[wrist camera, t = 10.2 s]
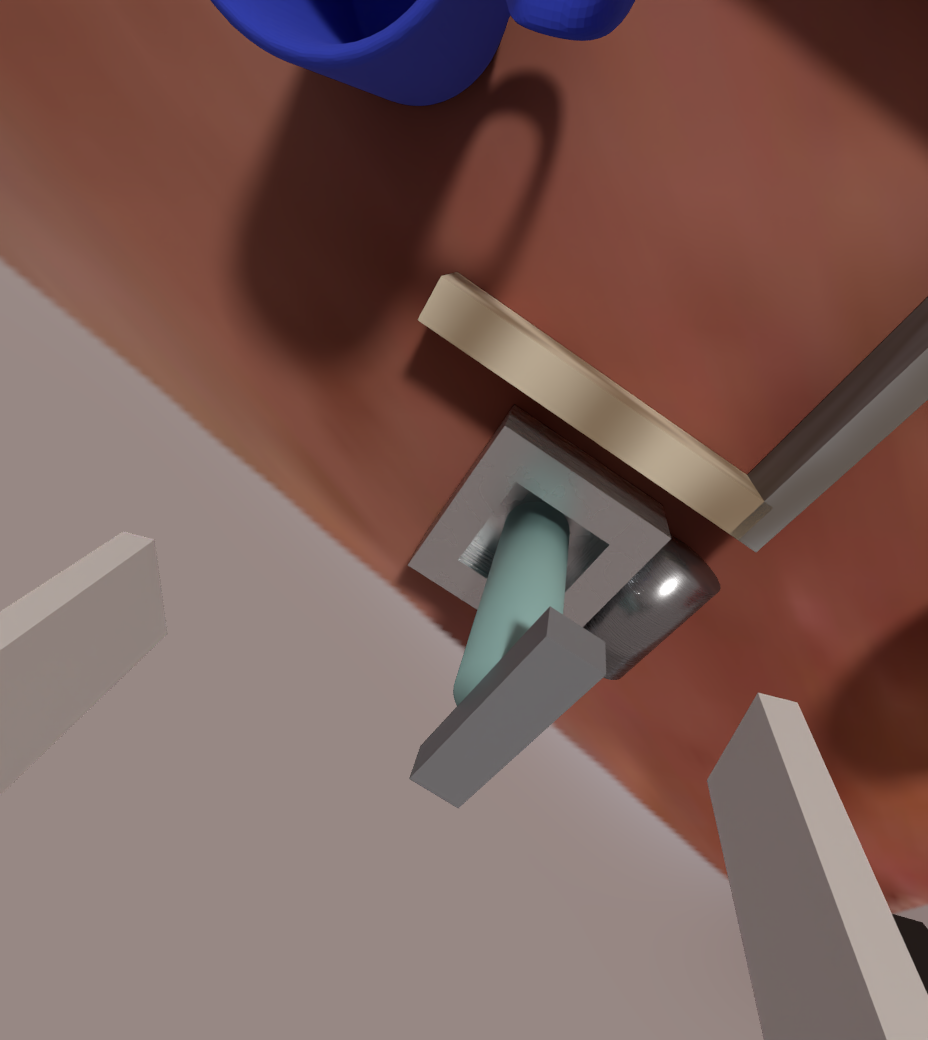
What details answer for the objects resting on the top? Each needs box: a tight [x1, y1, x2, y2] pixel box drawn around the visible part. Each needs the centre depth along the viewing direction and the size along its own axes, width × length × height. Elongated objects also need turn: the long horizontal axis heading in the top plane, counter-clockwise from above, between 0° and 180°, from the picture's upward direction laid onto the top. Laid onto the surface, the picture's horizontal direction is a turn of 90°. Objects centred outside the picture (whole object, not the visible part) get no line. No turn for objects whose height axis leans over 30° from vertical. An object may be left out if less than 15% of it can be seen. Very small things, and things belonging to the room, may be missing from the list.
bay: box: [418, 272, 928, 552], centre depth 21 cm, size 18×20×3 cm
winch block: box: [408, 404, 720, 680], centre depth 28 cm, size 13×9×4 cm
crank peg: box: [410, 501, 606, 808], centre depth 23 cm, size 3×8×13 cm, turn 148°
